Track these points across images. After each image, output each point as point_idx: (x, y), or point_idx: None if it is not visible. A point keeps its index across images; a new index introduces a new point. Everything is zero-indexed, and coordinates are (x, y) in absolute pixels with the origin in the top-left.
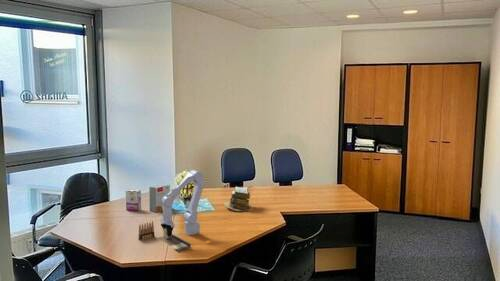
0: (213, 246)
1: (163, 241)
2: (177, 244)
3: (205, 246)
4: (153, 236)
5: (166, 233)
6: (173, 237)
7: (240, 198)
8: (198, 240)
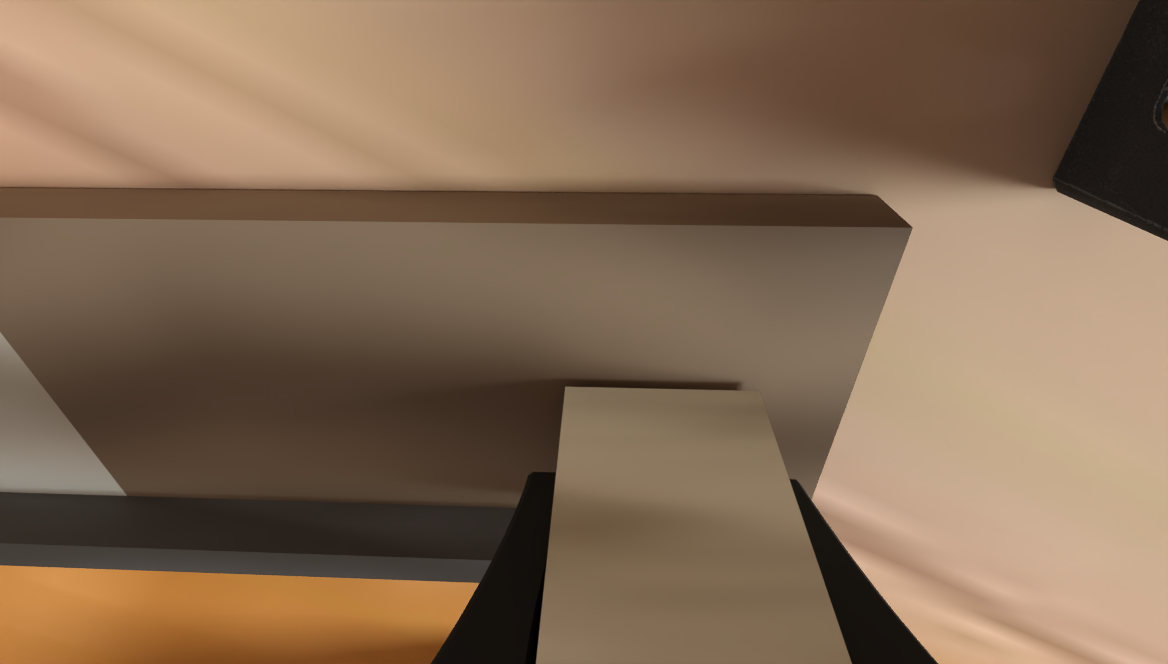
0: (4, 655)
1: (432, 222)
2: (23, 389)
3: (18, 614)
4: (1154, 175)
5: (549, 536)
6: None
7: None
8: (310, 652)
